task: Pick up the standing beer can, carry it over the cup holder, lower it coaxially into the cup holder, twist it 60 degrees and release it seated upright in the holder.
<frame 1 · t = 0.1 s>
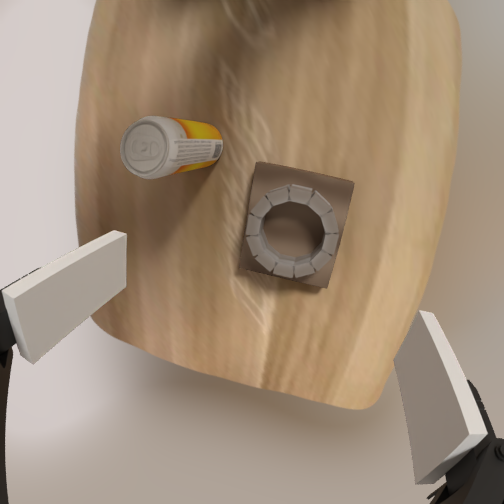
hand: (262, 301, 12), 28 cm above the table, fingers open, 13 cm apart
cup holder: (295, 222, 39), on the table
beer can: (203, 145, 39), on the table
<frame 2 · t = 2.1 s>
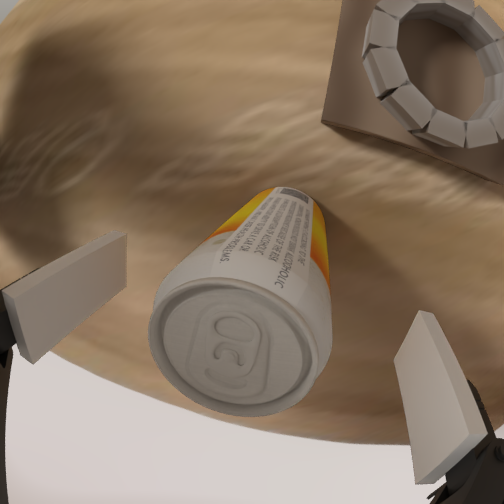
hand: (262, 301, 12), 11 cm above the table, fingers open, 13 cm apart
cup holder: (426, 75, 16), on the table
beer can: (284, 225, 22), on the table
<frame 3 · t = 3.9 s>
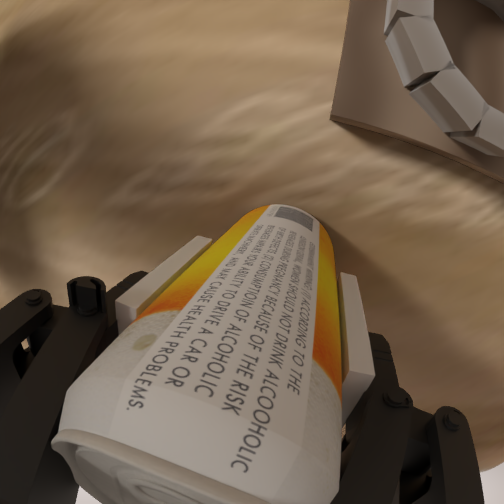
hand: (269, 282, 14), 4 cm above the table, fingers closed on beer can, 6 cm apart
cup holder: (461, 64, 11), on the table
beer can: (281, 252, 18), on the table, touching gripper
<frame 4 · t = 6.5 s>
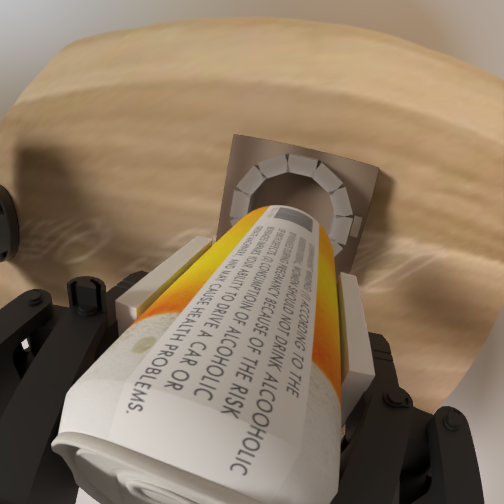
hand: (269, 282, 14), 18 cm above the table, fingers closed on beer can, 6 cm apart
cup holder: (295, 204, 31), on the table
beer can: (281, 253, 18), point 14 cm above the table, touching gripper
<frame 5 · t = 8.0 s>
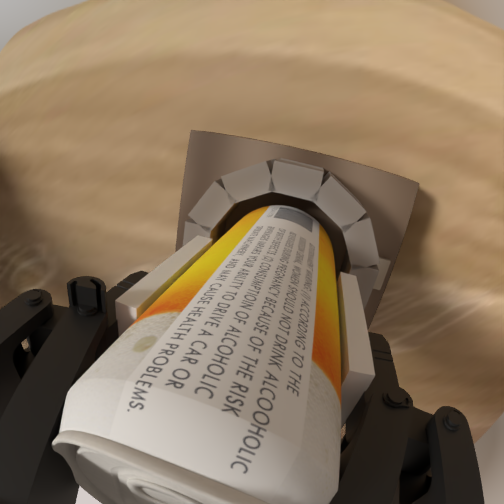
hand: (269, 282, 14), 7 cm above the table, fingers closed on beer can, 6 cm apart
cup holder: (287, 236, 21), on the table
beer can: (281, 253, 18), point 3 cm above the table, touching gripper
when the fingers open (7 cm above the table, at t = 9.2 s): beer can stays where it is, resting on cup holder.
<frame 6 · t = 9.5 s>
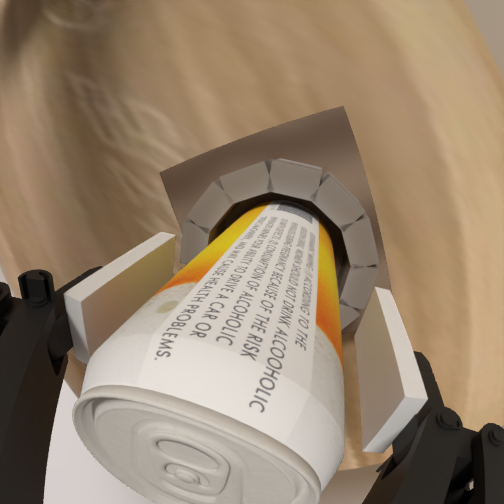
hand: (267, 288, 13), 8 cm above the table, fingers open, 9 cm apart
cup holder: (287, 236, 21), on the table
beer can: (282, 246, 19), point 2 cm above the table, touching cup holder
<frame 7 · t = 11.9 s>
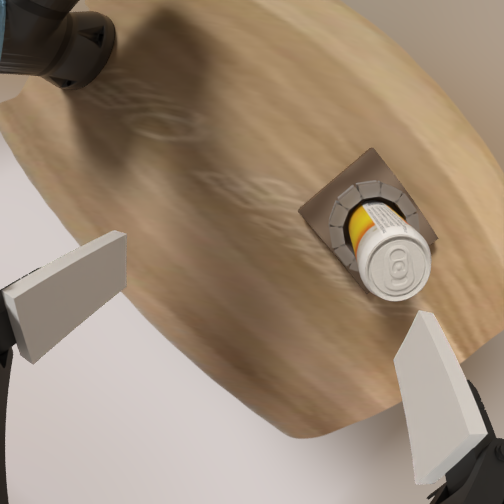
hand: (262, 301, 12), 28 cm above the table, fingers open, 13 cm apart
cup holder: (369, 220, 37), on the table
beer can: (371, 224, 34), point 2 cm above the table, touching cup holder
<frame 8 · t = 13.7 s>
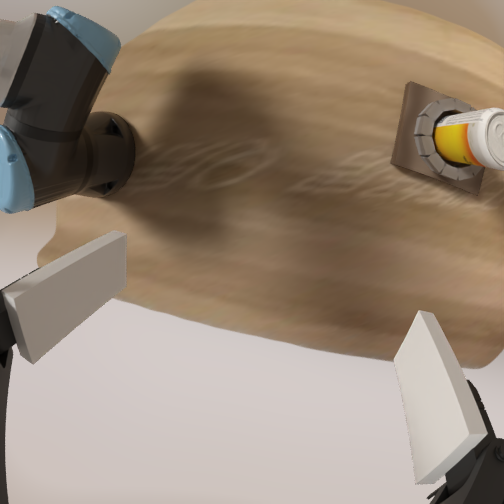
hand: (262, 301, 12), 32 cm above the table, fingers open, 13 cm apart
cup holder: (442, 139, 34), on the table
beer can: (447, 138, 32), point 2 cm above the table, touching cup holder
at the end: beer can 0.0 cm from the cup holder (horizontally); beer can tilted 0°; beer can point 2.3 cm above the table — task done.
